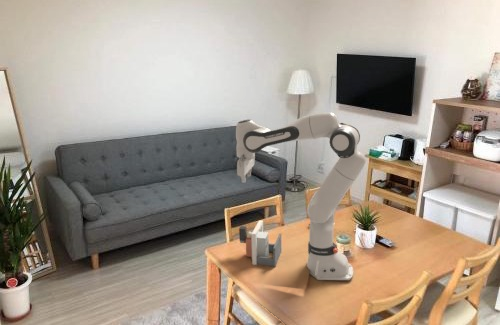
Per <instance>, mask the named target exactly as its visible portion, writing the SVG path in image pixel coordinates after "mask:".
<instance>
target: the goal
mask: <svg viewBox="0 0 500 325" xmlns="http://www.w3.org/2000/svg"><path fill="white" fill-rule="evenodd" d="M251 232H252V257H251V260H252V265H254V266H257V265H258V266H268V267H273V268H276V267H277V264H278V261H279V259H280V256H281V254H282V233H278V236H277V238H276V240H275V243H269V252H270V253H271V252H273V253H272V255H273V256H272V257H269V256H268V257H261V256H257V234H258V232H264V220H258V221H257V224H256V225H255V227H254V229H253V231H251Z"/></svg>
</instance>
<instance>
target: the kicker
mask: <svg viewBox="0 0 500 325" xmlns="http://www.w3.org/2000/svg"><path fill="white" fill-rule="evenodd" d="M238 231H239V232H238V233H239V234H238V235H239V243H240V244H245V253H246V255H245V256H246V257H248V258H249V257H250V258H252V246H251V237H252V232H253V231H248V229H247V226H244V225H241V226H240V227H239V228H238Z"/></svg>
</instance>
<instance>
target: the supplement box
mask: <svg viewBox="0 0 500 325" xmlns="http://www.w3.org/2000/svg"><path fill="white" fill-rule="evenodd" d="M269 244H270V243H269V232H268V231H263V232H258V234H257V256H261V257H269V255H270V253H269V252H270V251H269ZM251 246H252V237H251Z"/></svg>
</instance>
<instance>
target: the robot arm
mask: <svg viewBox="0 0 500 325" xmlns="http://www.w3.org/2000/svg"><path fill="white" fill-rule="evenodd" d="M320 138H328V139H329V145H330V148H331V149H332V151H333V152H334V153H335V154H336V156H338V160H337V162H336V163H335V164H334V166H333V168H332V169H331V170H330V172H329V173H328V175H327V176H326V177H325V179H324V180H323V181H322V184H321V185H320V186H319V188H318V189H317V191H315V192H314V193H313V195H312V197H311V199H310V201H309V203H308V205H307V217H308V219H309V221H310V222H309V227H308V228H309V232H308V234H309V239H308V240H309V241H308V242H307V244H308V245H307V253H308V257H307V262H306V267H307V268H308V270H309V275H311V276H312V277H314V279H316V280H317V281H350V280H351V279H352V278H353V276H354V267H353V266H352V264H351V263H349V261H348V258H347V256H346V255H345V254H343V253H342V252H340V251H339V249H338V244H337V242H335V243H334V226H335V225H334V223H335V214H336V209H337V208H338V206H339V205H340V203H341V202H342V200H343V198H344V197H345V195H346V193H347V192H348V191H349V190H350V189H351V187H352V185H353V184H354V183H355V182H356V180H357V178H358V177H359V175H361V172H362V171H363V169H364V167H365V165H366V161H367V160H366V159H367V158H366V157H365V155H364V154H363V152H361V151H359V149H358V144H359V143H360V140H361V134H360V131H359V130H358V129H357V128H356V127H355V126H352V125H351V124H346V123H344V122H339V119H338V116H337V115H336V114H335V113H333V112H318V113H312V114H308V115H305V116H301V117H299V118H297V119H295V120H293V121H292V122H290V123H289V124H287V125H285V126H283V127H281V128H277V129H272V130H271V128H269V127H267V126H263V125H260V124H257V123H256V122H254V121H253V120H252V119H244V120H240V121H238V122H237V123H236V127H235V139H236V147H235V148H236V157H237V158H238V160H237V162H236V175H237V177H240V179H241V183H243V184H245V183H247V182H246V181H247V178H250V177H251V176H252V168H253V167H255V161H256V160H255V159H256V153H260V152H261V150H263V149H264V148H267V147H269V146H274V145H277V144H281V143H286V142H298V141H309V140H310V141H311V140H316V139H320ZM246 177H247V178H246Z"/></svg>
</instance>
